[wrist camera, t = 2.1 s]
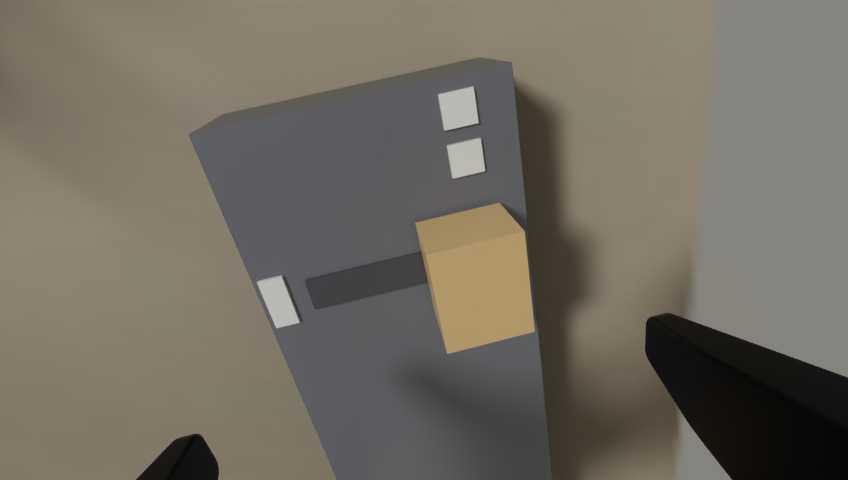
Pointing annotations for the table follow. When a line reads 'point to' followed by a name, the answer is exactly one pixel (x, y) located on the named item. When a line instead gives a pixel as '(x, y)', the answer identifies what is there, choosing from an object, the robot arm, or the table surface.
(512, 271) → the outlet switch
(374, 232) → the grey slider switch box
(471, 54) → the table surface
